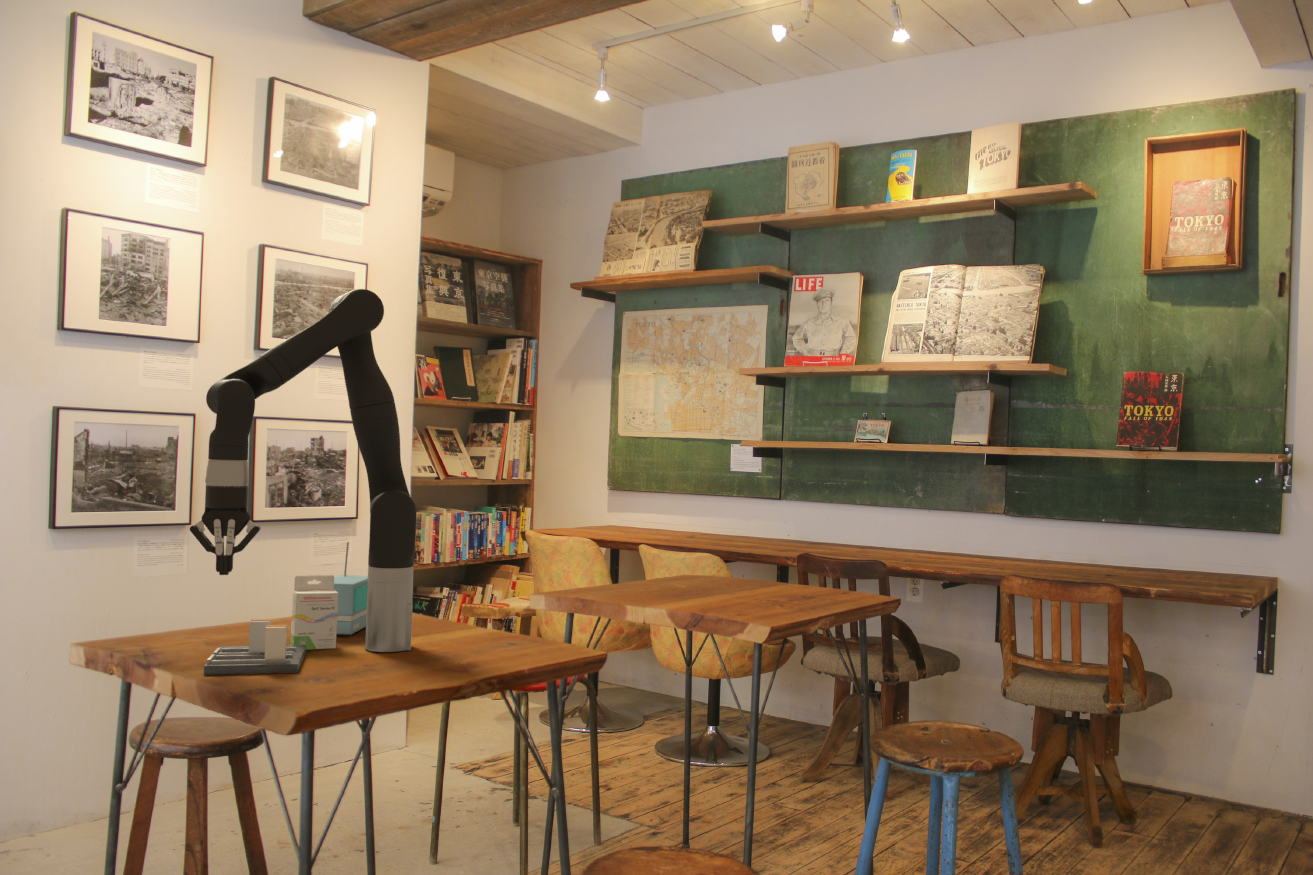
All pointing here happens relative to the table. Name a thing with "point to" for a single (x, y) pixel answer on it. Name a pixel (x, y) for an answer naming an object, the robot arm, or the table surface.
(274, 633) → the fader near
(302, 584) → the ink box
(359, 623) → the radio
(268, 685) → the table surface
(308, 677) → the table surface
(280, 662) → the gray slotted tray
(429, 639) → the table surface
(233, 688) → the table surface
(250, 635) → the fader far
